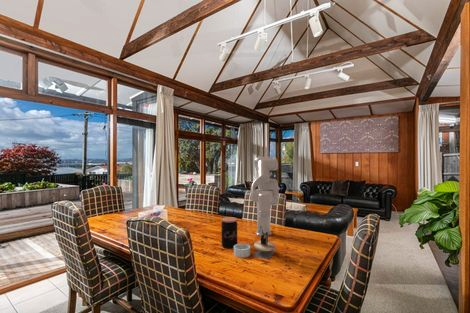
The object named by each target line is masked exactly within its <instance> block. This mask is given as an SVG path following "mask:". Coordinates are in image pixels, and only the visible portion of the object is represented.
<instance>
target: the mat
mask: <svg viewBox="0 0 470 313" xmlns="http://www.w3.org/2000/svg"><path fill="white" fill-rule="evenodd" d="M276 252H277V251H276V250H275V249H274V250H271V251H260V250H257V251H256V252H255V253H254V254H253V255H252V257H255V258H260V259H263V260H270V259H271V257H273V255H274V254H275V253H276Z"/></svg>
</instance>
